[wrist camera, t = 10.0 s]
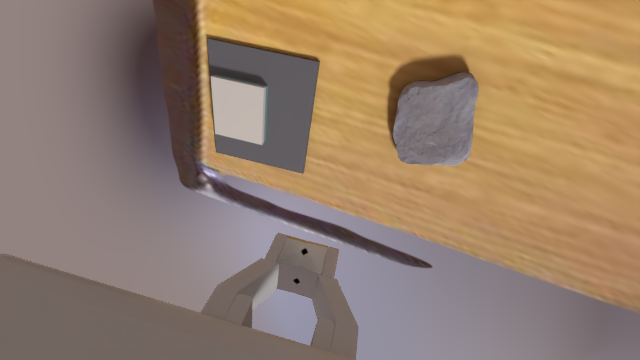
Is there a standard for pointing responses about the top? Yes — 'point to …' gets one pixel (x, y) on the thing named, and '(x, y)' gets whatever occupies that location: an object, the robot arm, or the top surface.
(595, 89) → the top surface
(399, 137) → the stone block
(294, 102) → the mat
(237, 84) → the tile
